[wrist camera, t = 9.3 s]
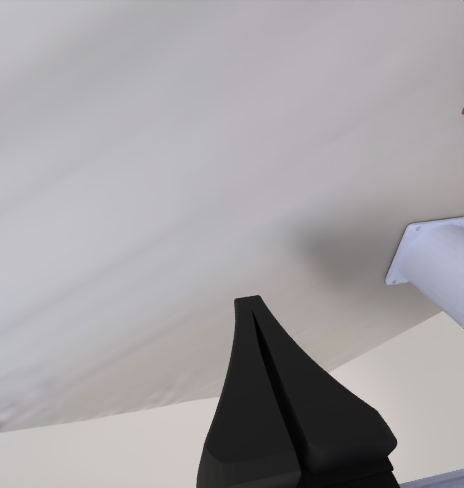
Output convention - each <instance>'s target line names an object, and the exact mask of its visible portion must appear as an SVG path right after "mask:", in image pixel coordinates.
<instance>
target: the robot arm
mask: <svg viewBox="0 0 464 488" xmlns="http://www.w3.org/2000/svg"><path fill="white" fill-rule="evenodd" d="M406 282H411V283H412V284H413V285H414V286H415V287H416V288H417V289H419V290H420V291H421V292H422V293H423V294H424V295H426V296H427V297H428V298H429V299H430V300H431V301H433V302H434V303H435V304H436V305H437V306H438V307H439V308H441V309H442V310H443V311H444V312H445V313H446V314H448V315H449V316H450V317H451V318H452V319H454V320H455V321H456V322H457V323H458V324H459V325H460V326H462V327H463V328H464V217H459V218H451V219H443V220H435V221H428V222H420V223H412V224H410V225H408V226H407V228H406V230H405V233H404V235H403V238H402V240H401V242H400V245H399V247H398V250H397V252H396V255H395V257H394V260H393V262H392V264H391V267H390V269H389V272H388V274H387V277H386V279H385V283H386V284H387V285H393V284H399V283H406ZM234 306H235V332H234V340H233V346H232V352H231V357H230V362H229V367H228V371H227V375H226V379H225V383H224V386H223V390H222V393H221V397H220V400H219V403H218V406H217V409H216V412H215V415H214V418H213V421H212V424H211V426H210V429H209V432H208V434H207V437H206V440H205V443H204V447H203V452H202V456H201V460H200V464H199V469H198V475H197V484H196V488H464V469H461V470H456V471H452V472H448V473H444V474H440V475H436V476H432V477H428V478H423V479H419V480H415V481H411V482H407V483H403V484H398V483H397V481H396V478H395V477H394V475H393V473H392V471H393V470H394V469H393V466H392V464H391V462H390V461H389V458H388V457H387V456H388V455H389V454H390V453H391V452H392V451H393V450H394V449H395V448H396V446H397V439H396V438H395V436H394V435H393V433H392V431H391V429H390V428H389V426H388V425H387V423H386V422H385V421H384V419H383V418H382V417H381V415H380V414H379V413H378V411H377V410H375V409H374V408H373V407H371V406H370V405H368V404H367V403H365V402H364V401H363V400H361V399H360V398H358V397H357V396H356V395H354V394H353V393H352V392H350V391H349V390H348V389H346V388H345V387H344V386H343V385H341V384H340V383H339V382H337V380H335V379H334V378H333V377H332V376H331V375H329V374H328V373H327V372H326V371H325V370H323V369H322V368H321V367H320V366H319V365H318V364H317V363H316V362H315V361H314V360H312V359H311V358H310V357H309V356H308V355H307V354H306V353H305V352H304V351H303V350H302V349H301V348H300V347H299V346H298V345H297V344H296V342H295V341H294V340H293V339H292V338H291V337H290V336H289V335H288V333H287V332H286V331H285V330H284V329H283V327H282V326H281V325H280V324H279V322H278V321H277V320H276V319H275V317H274V316H273V315H272V313H271V312H270V310H269V309H268V308H267V306H266V305H265V303H264V301H263V300H262V298H261V296H259V295H256V296H250V297H243V298H236V299H235V300H234Z"/></svg>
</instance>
